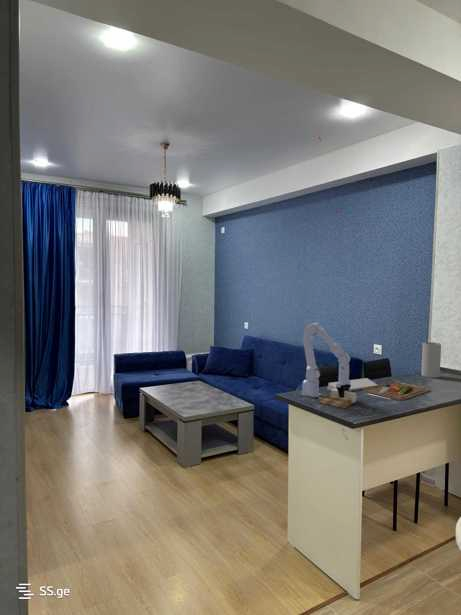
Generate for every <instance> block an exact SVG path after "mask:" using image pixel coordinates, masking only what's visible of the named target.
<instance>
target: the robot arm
mask: <svg viewBox="0 0 461 615" xmlns="http://www.w3.org/2000/svg"><path fill="white" fill-rule="evenodd" d="M304 329H305V330H304V332H303V335H302V343H303V348H304V354H305V360H306V373H305V379H304V380H303V381H302V385H301V386H302V388H301V390H302V391H301V395H302V396H306V397H311V398H319V397H321V396H322V393H320V392H319V391H320V390H319V389H320V388H319V387H320V386H319V384H320V380H319V378H320V376H321V371H320V370H319V369H318V365H317V364H316V357H315V352H314V345H313V341H312V340H313V338H314V337H315V336H317V337H321V338H322V339H323V340H324V341H325V342H326V344H327V345H328V346H329V350H330V352H332V354H333V355H334V356H335V357H336V358H337V362H338V363H339V364H338V381H337V382H338V383H337V385H336V388H337V390H338V393H339V397H340V398H344V392H345V391H348V392H350V391H349V389H350V387H351V385H350V384H351V383H350V381H351V380H352V379H350V361H351V356H350V354H349V353H348V352H347V351H344V349H343V348H342V345H341V344H339V343H338V342H334V341H333V339H332V337H331V336H330V335H329V334H328V333H327V331H326V330H325V328H324V327H323V326H322V325H321V324H320V323H319V322H313V323H309V324H307V325H306V326H305V328H304Z"/></svg>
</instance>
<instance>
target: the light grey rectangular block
mask: <svg viewBox="0 0 461 615" xmlns="http://www.w3.org/2000/svg"><path fill="white" fill-rule="evenodd" d="M330 396H335V397H339V393H338V390H337V389H332V390H330ZM344 398H345V399H350V400H352V401H351V404H353V403H356V402H357V393H356V392H353V391H345V392H344Z"/></svg>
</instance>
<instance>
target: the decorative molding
mask: <svg viewBox="0 0 461 615" xmlns="http://www.w3.org/2000/svg"><path fill="white" fill-rule="evenodd" d="M350 380H351V381H350V383H351V384H350V385H351V387H350V389H349V391H348V392H353V390H354V391H361V390H364V389H368V388H372V387H375V386H379V385H378V383H376V382H374V381H372V380H371V379H369V378H364V377H363V378H359V379H358V378H357V379H350ZM337 383H338V381H334V382H328V383H327V384H328V385H327V388H326V389H327V390H328V391H331V390H332V389H337V388H336V385H337ZM360 389H361V390H360Z"/></svg>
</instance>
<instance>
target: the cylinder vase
mask: <svg viewBox="0 0 461 615" xmlns="http://www.w3.org/2000/svg"><path fill="white" fill-rule="evenodd" d="M421 348H422V350H421V352H422V353H421V376H422V377H424V378H428V379H439V378H440V377H441V358H442V357H441V356H442V343H440V342H432V341H431V342H429V341H426V342H425V341H424V342H422V347H421Z"/></svg>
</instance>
